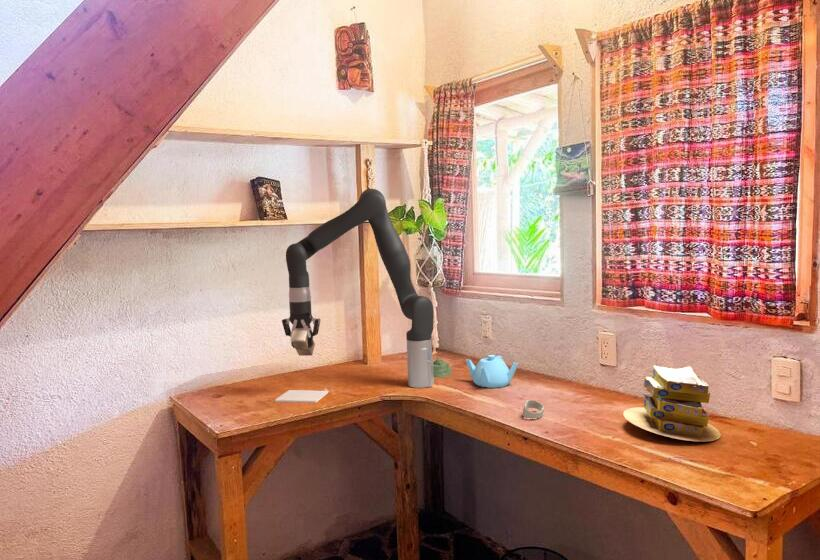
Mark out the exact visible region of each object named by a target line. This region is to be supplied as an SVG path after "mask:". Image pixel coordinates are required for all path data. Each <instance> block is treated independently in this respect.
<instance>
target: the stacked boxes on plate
mask: <svg viewBox="0 0 820 560" xmlns="http://www.w3.org/2000/svg"><path fill="white" fill-rule="evenodd" d="M643 387H644V388H645V389H646V392H648V393H650V395H647V394H645V393H643V394H642V395H643V398H644V399H643V404H642V405H643V407H638V406H637V407H630V408H627V409H625V410H624V411H623V414H622V415H623V417H624V418H625V419H626V420H627V421H628V422H629V423H631V424H632V425H634V426H636V427H639V428H640V429H643V430H645V431H648V432H650V433H654V434H656V435H660V436H664V437H668V438H671V439H677V440H681V441H688V442H689V441H691V442H714V441H716V440H717V441H718V440H719V439H720V438H721V436H722V434H721V433H720V430H718V428H716V427H714V426H713V425H712V424H710V423H709V419H710V415H709V413H708V412H707V411H706V410H705V409H704V408H703V405H702V403H705V404H709V402H710V399H711V398H710V397H711V392H710V391H709V387H710V384H709V383H708V382H706V381H705V380H703V378H702V377H700V375H697V374H696V373H695V372H694V369H693V368H692V366H691V365H690V366H686V367H682V368H677V367H666V366H665V367H664V366H657V365H653V367H652V376H646V375H645V376H644V380H643Z"/></svg>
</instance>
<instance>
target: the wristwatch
mask: <svg viewBox="0 0 820 560" xmlns="http://www.w3.org/2000/svg"><path fill="white" fill-rule="evenodd" d="M533 408H534V409H536V410H539V411H537V412H532V411H530V410H529V409H533ZM544 410H545V407H544V404H543V403H541V402H540V401H537V400H534V399H528V398H527V399H526V400H525V402H524V405H523V409H522V414H521V415H522V416H523V417H524V418H525V419H527V418H532V419H533V418H539V417H541V416H542V415H544ZM542 417H543V416H542ZM542 417H541V418H542ZM539 419H540V418H539Z"/></svg>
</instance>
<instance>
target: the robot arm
mask: <svg viewBox="0 0 820 560" xmlns="http://www.w3.org/2000/svg"><path fill="white" fill-rule="evenodd" d="M387 208H388V207H387V202H386V198H385V196H384V195H383V193H382V192H381V191H380V190H378V189H376V188H368V189H365V190H364V191H362V192H361V194H360V196H359V199H358V201H357V202H356V203H355V204H353V205H352V206H351V207H350V208H349V209H347V210H346V211H344V212H342V213H341V214H339V215H337V216H336V217H334V218H332V219H329V220H328V221H326V222H324V223H323V224H321V225H319V226H318V227H316V228H314V229H313V230H312V231H311V232H310V233H309V234H308V235H307V236H305V237H304V238H302V239H301V240H299V241H297V242H296V243H292V244H290V245H289V246H288V247H287V249H285V250H286V251H285V263H286V267H287V268H286V269H287V272H288V289H289V290H288V301H289V306H288V307H289V317H288V318H284V319H282V320H281V323H282V326H283V331H284V334H285V336H286V337H290V338H291V336H292V332H293V331H295V329H296V328H304V330H305V331H307V336H308V348H311V347H312V346H313V341H314V337H315V336H317V335H319V329H320V325H321V319H320V318H316V317H313V315H312V294H311V289H310V275H309V274H310V273H309V271H308V270H307V260H309V259H310V258H311V257H313V256H314V255H315V254H316V253H317V252H319V251H321V250H322V249H324V248H326V247H327V246H329V245H330V244H332V243H333V242H334V241H336V240H338V239H340V238H341V237H342V236H343V235H345V234H346V233H348V232H349V231H351V230H353V229H355V228H356V227H358V226H359V225H361V224H364V223H365V222H368V223H369V225H370V227H371V230H372V233H373V237H374V239H375V243H376V246H377V250H378V253H379V257H380V259H381V261H382V262H383V265H384V267H385V270H386V272H387V273H388V276H389V278H390V281H391V283H392V286H393V289H395V290H394V291H395V293H396V296H397V299H398V300H397V301H398V304H399V306H400V310H401V312H402V314H403V315H404V316H405V318H407V319H408V320H411V328H410V329H409V330H407V331H406V360H407V385H408V387H410V388H417V389H418V388H419V389H423V388H431V387H432V386H433V385H434V383H435V377H434V367H433V361H434V358H433V350H432V349H433V347H432V345H433V344H432V334H433V331H434V321H435V320H434V316H435V315H434V314H435V313H434V305H433V302H432V300H431V299H430V298H429V297H427V296H423V295H419V294H418V293H417V292H416V289H415V287H414V285H413V282H412V279H411V270H412V269H411V260H410V256H409V255H408V252H407V250H406V247H405V244H404V242H403V241H402V239H401V237H400V235H399V233H398V231H397V230H396V228H395V226H394V224H393V223H392V221H391V218H390V215H389V211H388V209H387ZM290 323H291V325H292V328H291V327H290ZM311 323H313V329H312V326H311ZM290 345H291V347H292V348H293V349H295V347H294V345H293V344H292V342H291V341H290Z"/></svg>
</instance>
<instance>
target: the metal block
mask: <svg viewBox="0 0 820 560" xmlns="http://www.w3.org/2000/svg"><path fill="white" fill-rule="evenodd" d="M291 332H292V331H291ZM291 342H292V344H293V345H294V347H295V348H294V349H295V351H296V353H297V355H298V356H309V357H312V356H313V354H314V350H315V346H316V343H315V340H313V346H312V347H311V348H308V336H307V331H305V330H304V328H296V329H295V331H293V332H292V336H291V337H290V343H291Z"/></svg>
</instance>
